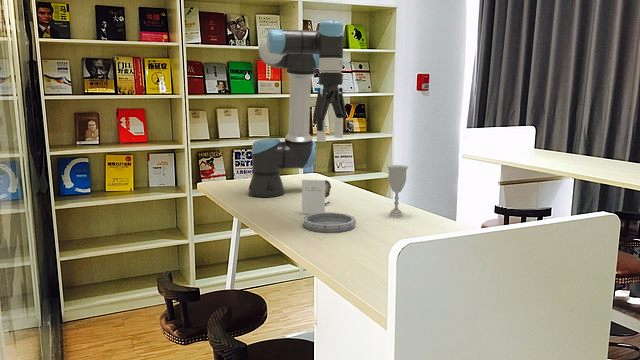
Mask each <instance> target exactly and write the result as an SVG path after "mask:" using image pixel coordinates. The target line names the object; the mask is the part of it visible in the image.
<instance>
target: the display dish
mask: <svg viewBox="0 0 640 360" xmlns="http://www.w3.org/2000/svg"><path fill="white" fill-rule="evenodd" d="M302 220H303V227H304V228H305V229H306V230H309V231H311V232H316V233H326V234H329V233H330V234H334V233H335V234H337V233H344V232H349V231H352V230H354V229H355V228H356V224H357V220H356V217H355V216H353V215H350V214H347V213H342V212H341V213H340V212H325V213H315V214H306V215H305V216H303V219H302Z"/></svg>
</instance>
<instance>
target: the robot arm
mask: <svg viewBox="0 0 640 360" xmlns="http://www.w3.org/2000/svg"><path fill="white" fill-rule="evenodd" d="M318 25H319V26H318V30H306V29H305V30H303V29H301V30H300V29H298V30H297V29H295V30H294V29H281V28H280V29H279V28H278V29H269V31H268V32H267V34H266V35H267V36H266V39H264V40H263V41H262V42H261V43H260V44H259V47H258V56H259V59H260V60H261V61H262V63H264V64H266V65H268V66H270V67H272V68H275V69H276V68H277V69H286V73H287V75H288V76H289V106H288V107H289V112H288V113H289V114H288V133H287V134H286V135H285V137H284V141H281V140H280V138H278V137H275V138H274V137H268V138H264V139H263V138H262V139H259V140H256V141H254V142H253V143H252V145H251V155H252V156H251V157H252V162H251V163H252V165H251V166H252V172H251V173H252V176H251V180H250V184H249V186H248V195H250V196H251V197H261V198H270V197H280V196H282V195H284V194H285V187H284V184H283V180H282V177H281V170H284V169H285V170H287V169H291V170H292V169H301V170H302V169H308V168H311V167H312V166H313V165H314V163H315V160H316V155H317V145H316V142H320V143H326V142H327V141H326V138H327V136H326V128H327V125H326V123H327V121H326V115H327V112H328V110H329V107H330V104H331V106H332V109H333V112H334V114H335V117H334V135H333V136H334V138H337V139H339V138H340V139H342V138H343V137H344V135H343V133H344V118H347V111H346V110H347V109H346V106H345V105H346V104H345V100H344V95H343V94H344V91H343V87H339V86H342V85H343V81H344V80H343V79H344V78H343V77H344V76H343V75H344V74H343V73H342V72H343V69H344V68H343V66H344V64H345V62H344V60H343V58H344V34H345V33H344V32H345V31H344V23H343V22H342V21H339V20H323V21H322V20H321V21H320V22H319V24H318ZM316 70H318V71H319V73H318V85H320V86H321V85H322V87H318V89H317V96H316V101H315V104H314V105H315V106H314V110H313V115H312V118H313V121H316V141H315V140H313V137H312V136H311V135H310V115H311V114H310V113H311V95H312V93H311V90H312V77H314V76H315V75H316Z"/></svg>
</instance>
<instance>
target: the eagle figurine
mask: <svg viewBox="0 0 640 360" xmlns="http://www.w3.org/2000/svg"><path fill="white" fill-rule="evenodd" d="M324 180H325V205H327V204H328V203H330V201H329V200H328V199H327V198H328V197H329V196H330V191H331V188H332V184H331V183H330V181H328V180H327V179H324Z"/></svg>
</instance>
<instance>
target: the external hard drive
mask: <svg viewBox="0 0 640 360" xmlns="http://www.w3.org/2000/svg"><path fill="white" fill-rule="evenodd" d="M325 180H326V179H304V178H303V179H301V214H303V215H309V214H315V213H326V204H325V198H326V197H325Z"/></svg>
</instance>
